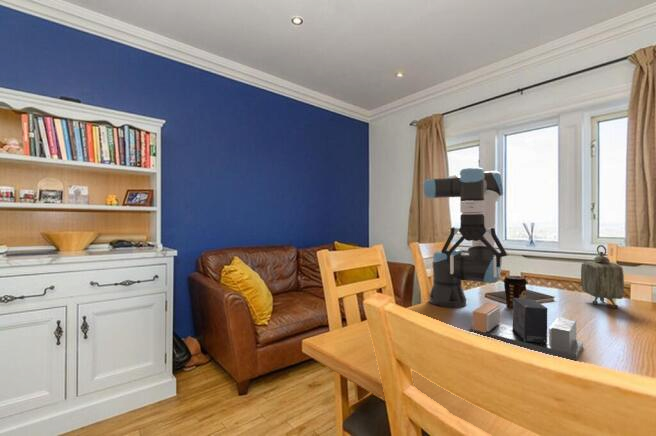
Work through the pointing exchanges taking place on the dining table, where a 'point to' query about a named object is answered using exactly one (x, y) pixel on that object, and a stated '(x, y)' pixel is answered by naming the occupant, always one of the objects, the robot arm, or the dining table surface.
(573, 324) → the vise
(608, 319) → the dining table surface
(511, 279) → the coffee cup
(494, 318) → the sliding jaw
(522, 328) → the small box
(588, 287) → the tabletop clock
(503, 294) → the hardcover book
